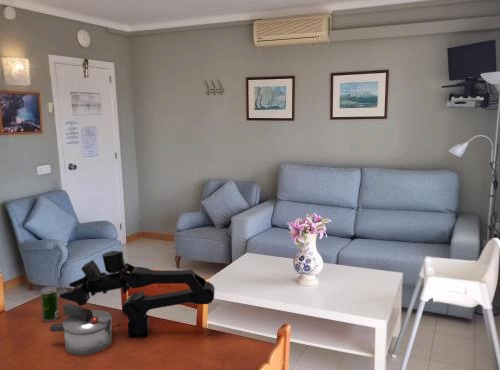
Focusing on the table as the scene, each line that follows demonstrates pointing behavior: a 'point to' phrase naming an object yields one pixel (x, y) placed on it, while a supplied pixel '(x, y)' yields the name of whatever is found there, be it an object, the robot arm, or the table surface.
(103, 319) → the cooker lid
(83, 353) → the cooker pot
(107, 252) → the robot arm
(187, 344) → the table surface
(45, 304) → the beer can
